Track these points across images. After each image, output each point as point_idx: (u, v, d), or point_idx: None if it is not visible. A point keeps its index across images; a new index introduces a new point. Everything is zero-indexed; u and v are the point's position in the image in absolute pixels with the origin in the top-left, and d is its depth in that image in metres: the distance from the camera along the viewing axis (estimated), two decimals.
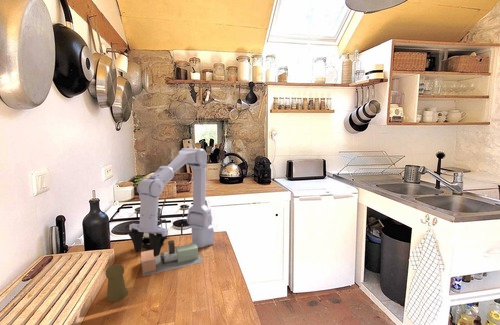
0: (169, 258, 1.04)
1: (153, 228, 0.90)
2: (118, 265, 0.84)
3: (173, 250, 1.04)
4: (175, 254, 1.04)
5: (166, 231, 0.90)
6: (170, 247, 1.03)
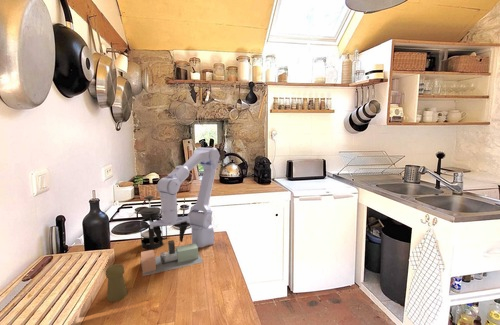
0: (169, 258, 1.04)
1: (177, 219, 1.03)
2: (118, 265, 0.84)
3: (173, 250, 1.04)
4: (175, 254, 1.04)
5: None
6: (170, 247, 1.03)
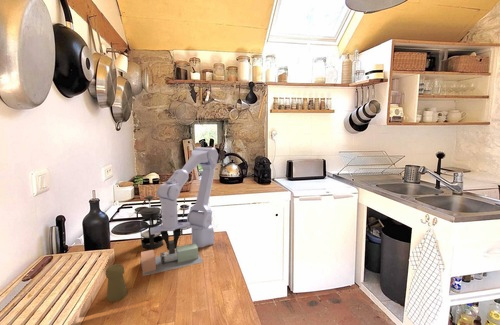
0: (169, 258, 1.04)
1: (178, 224, 1.04)
2: (118, 265, 0.84)
3: (173, 250, 1.04)
4: (175, 254, 1.04)
5: None
6: (170, 247, 1.03)
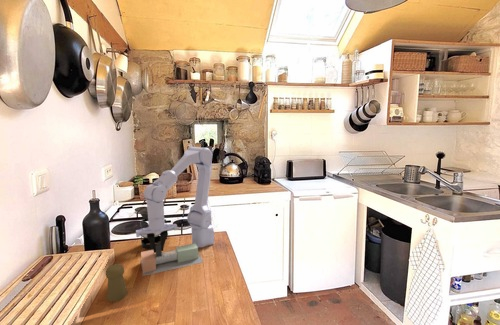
0: (156, 261, 1.02)
1: (164, 227, 1.02)
2: (118, 265, 0.84)
3: (160, 253, 1.02)
4: (162, 257, 1.02)
5: (176, 225, 1.04)
6: (157, 250, 1.01)
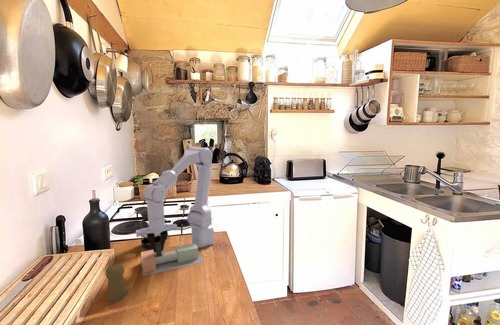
0: (156, 261, 1.02)
1: (164, 227, 1.02)
2: (118, 265, 0.84)
3: (160, 253, 1.02)
4: (162, 257, 1.02)
5: (176, 225, 1.04)
6: (157, 250, 1.01)
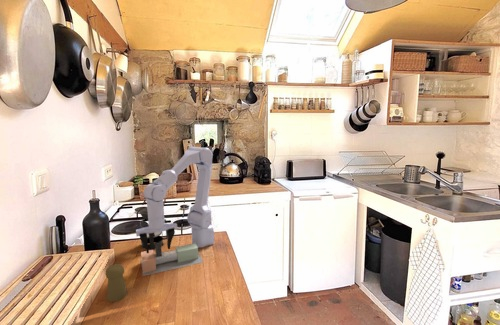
0: (156, 261, 1.02)
1: (164, 226, 1.02)
2: (118, 265, 0.84)
3: (160, 253, 1.02)
4: (162, 257, 1.02)
5: (176, 224, 1.04)
6: (157, 250, 1.01)
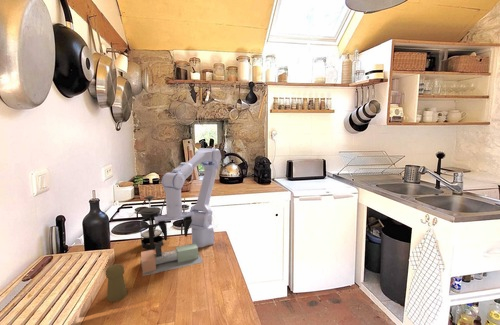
0: (156, 261, 1.02)
1: (182, 214, 1.04)
2: (118, 265, 0.84)
3: (160, 253, 1.02)
4: (162, 257, 1.02)
5: None
6: (157, 250, 1.01)
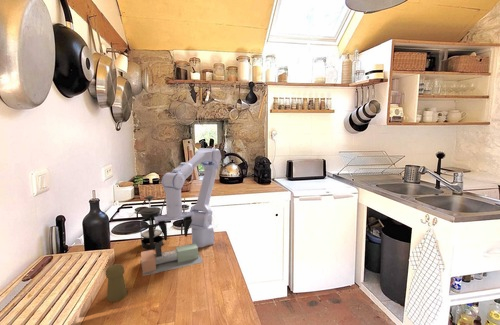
0: (156, 261, 1.02)
1: (182, 214, 1.04)
2: (118, 265, 0.84)
3: (160, 253, 1.02)
4: (162, 257, 1.02)
5: None
6: (157, 250, 1.01)
